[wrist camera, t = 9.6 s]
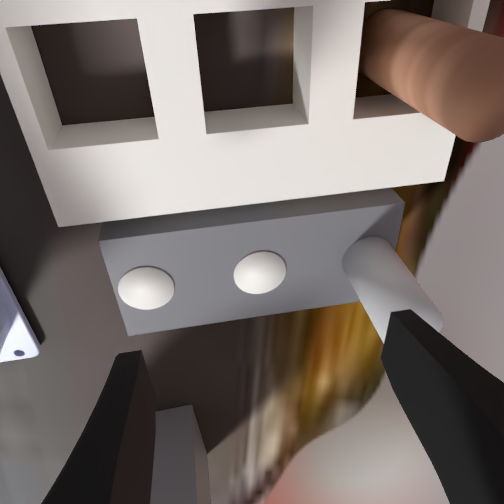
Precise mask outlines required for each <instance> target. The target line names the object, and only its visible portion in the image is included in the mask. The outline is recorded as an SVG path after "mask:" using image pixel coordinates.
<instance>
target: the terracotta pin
mask: <svg viewBox="0 0 504 504" xmlns="http://www.w3.org/2000/svg"><path fill="white" fill-rule="evenodd" d="M358 70H359V72H360V73H361V74H362V75H364V76H365V77H367V78H368V79H370V80H371V81H373V82H374V83H376V84H377V85H379V86H381V87H382V88H384V89H385V90H387V91H388V92H390V93H391V94H393V95H394V96H396V97H398V98H399V99H401V100H402V101H404V102H405V103H407V104H408V105H410V106H411V107H413V108H415V109H416V110H418V111H419V112H421V113H422V114H424V115H425V116H427V117H428V118H430V119H432V120H433V121H435V122H436V123H438V124H439V125H441V126H442V127H444V128H445V129H447V130H448V131H450V132H452V133H453V134H455V135H456V136H458V137H459V138H461V139H463V140H465V141H469V142H485V141H489V140H492V139H494V138H496V137H499V136H501V135H502V134H504V38H502V37H499V36H495V35H491V34H488V33H484V32H480V31H477V30H473V29H469V28H466V27H462V26H458V25H455V24H451V23H447V22H444V21H440V20H436V19H433V18H429V17H425V16H422V15H418V14H414V13H411V12H407V11H403V10H400V9H395V8H386V9H382V10H379V11H377V12H375V13H374V14H372V15H371V16H370V17H368V18H367V19H366V20H365V21H364V23H363V26H362V36H361V46H360V55H359V65H358Z"/></svg>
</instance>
